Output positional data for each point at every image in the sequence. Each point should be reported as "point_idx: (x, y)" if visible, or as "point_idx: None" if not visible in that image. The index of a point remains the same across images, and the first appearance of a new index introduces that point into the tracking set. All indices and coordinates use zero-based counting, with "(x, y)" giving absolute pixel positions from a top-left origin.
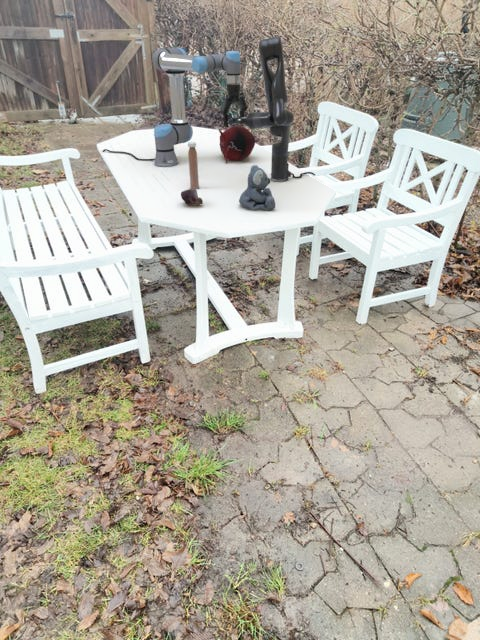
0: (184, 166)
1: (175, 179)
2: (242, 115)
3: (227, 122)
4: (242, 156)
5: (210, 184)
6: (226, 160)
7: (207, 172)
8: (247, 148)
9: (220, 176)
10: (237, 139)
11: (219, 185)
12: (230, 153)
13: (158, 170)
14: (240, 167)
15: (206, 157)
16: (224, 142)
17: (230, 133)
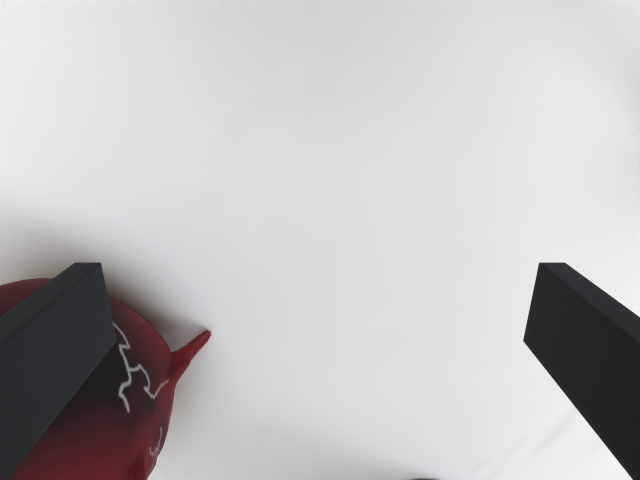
0: (398, 442)
1: None
2: (3, 380)
3: (613, 305)
4: None
5: (586, 116)
6: (200, 342)
7: (405, 294)
8: None
9: (419, 185)
10: None
11: (575, 54)
12: (162, 354)
13: (525, 475)
14: (196, 221)
15: (206, 471)
16: (149, 445)
17: (74, 478)
